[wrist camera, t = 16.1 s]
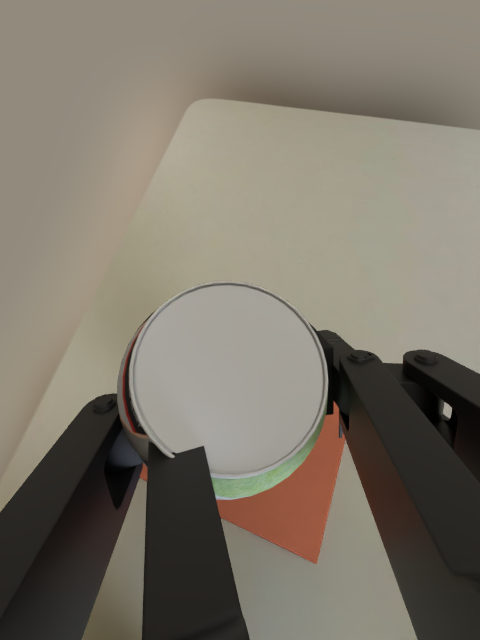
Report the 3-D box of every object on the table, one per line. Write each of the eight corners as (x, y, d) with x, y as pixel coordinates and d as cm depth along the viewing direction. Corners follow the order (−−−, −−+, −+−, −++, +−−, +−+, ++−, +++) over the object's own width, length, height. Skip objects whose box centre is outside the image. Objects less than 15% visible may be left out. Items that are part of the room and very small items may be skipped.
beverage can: (175, 364, 19) (93, 234, 9) (287, 378, 19) (347, 260, 8) (149, 471, 17) (-19, 474, 6) (280, 490, 16) (359, 533, 5)
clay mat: (127, 470, 18) (124, 470, 18) (208, 311, 23) (207, 309, 23) (315, 562, 16) (316, 564, 16) (360, 366, 21) (362, 365, 21)
